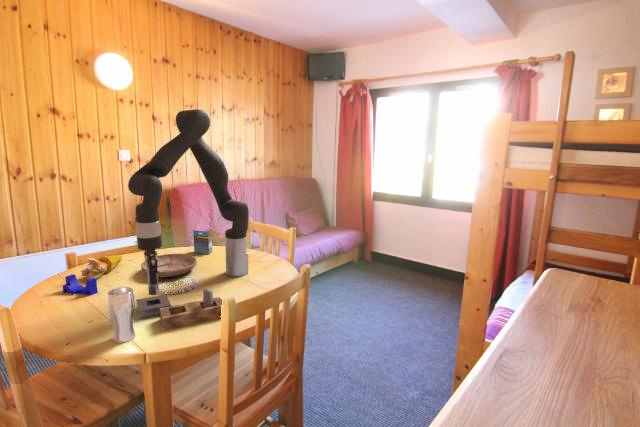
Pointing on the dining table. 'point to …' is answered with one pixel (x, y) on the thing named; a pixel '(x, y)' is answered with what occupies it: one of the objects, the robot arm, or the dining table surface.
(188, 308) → the rack
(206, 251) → the label tape cartridge
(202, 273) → the dining table surface
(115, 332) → the beer glass
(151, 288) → the round metal peg
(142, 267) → the ceramic bowl
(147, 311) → the socket block
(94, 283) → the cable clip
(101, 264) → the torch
